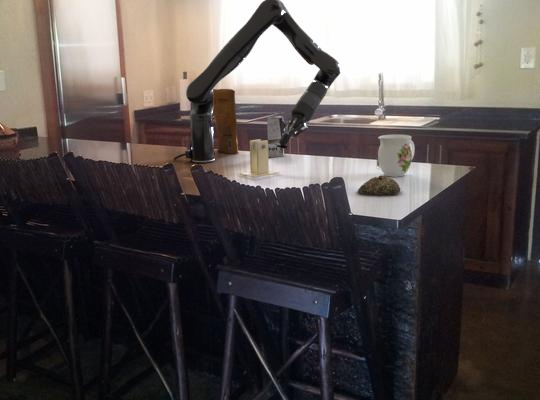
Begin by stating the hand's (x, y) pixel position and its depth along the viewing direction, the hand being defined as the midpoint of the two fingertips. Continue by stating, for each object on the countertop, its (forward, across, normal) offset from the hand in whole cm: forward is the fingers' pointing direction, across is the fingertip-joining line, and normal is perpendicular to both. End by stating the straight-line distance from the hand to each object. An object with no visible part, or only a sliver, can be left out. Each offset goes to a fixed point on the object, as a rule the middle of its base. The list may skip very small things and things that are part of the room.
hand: (281, 144), depth 233 cm
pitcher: (-9, +32, +25) cm, 41 cm away
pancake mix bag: (0, -52, +15) cm, 54 cm away
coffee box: (-7, -29, +22) cm, 37 cm away
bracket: (+14, 0, 0) cm, 15 cm away
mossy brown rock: (+7, +46, +8) cm, 47 cm away
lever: (+5, 0, -4) cm, 6 cm away
